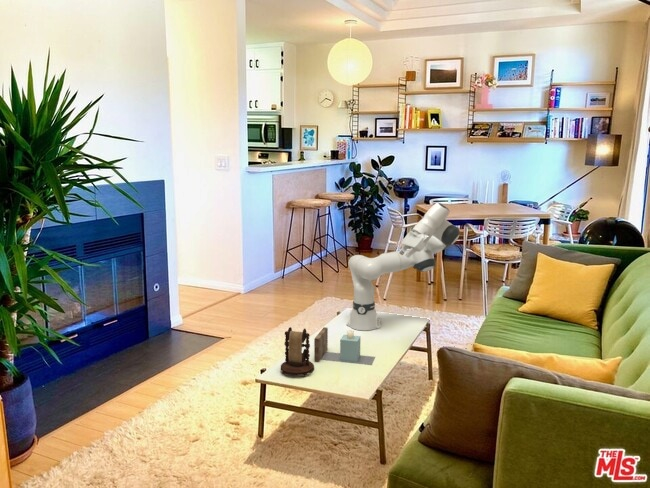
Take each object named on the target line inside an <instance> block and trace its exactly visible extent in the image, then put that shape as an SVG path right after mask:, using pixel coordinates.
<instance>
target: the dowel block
mask: <svg viewBox="0 0 650 488" xmlns="http://www.w3.org/2000/svg"><path fill="white" fill-rule="evenodd" d="M346 333H347V334H343V335H342V336H341V338H340V341H339V342H340V346H339V349H340V350H339V353H340V361H350V362H358V360H359V358H360V355H361V335H355V333H354V331H353V330H347V332H346Z"/></svg>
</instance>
